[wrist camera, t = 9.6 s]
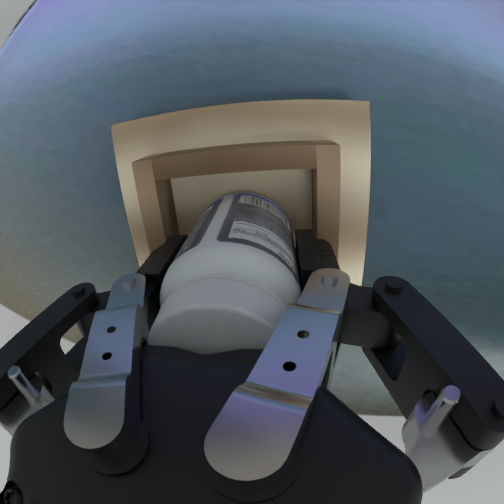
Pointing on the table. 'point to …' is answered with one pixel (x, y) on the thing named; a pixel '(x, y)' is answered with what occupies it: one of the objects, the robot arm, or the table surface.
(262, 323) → the pill bottle
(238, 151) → the wooden base
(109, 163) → the table surface
